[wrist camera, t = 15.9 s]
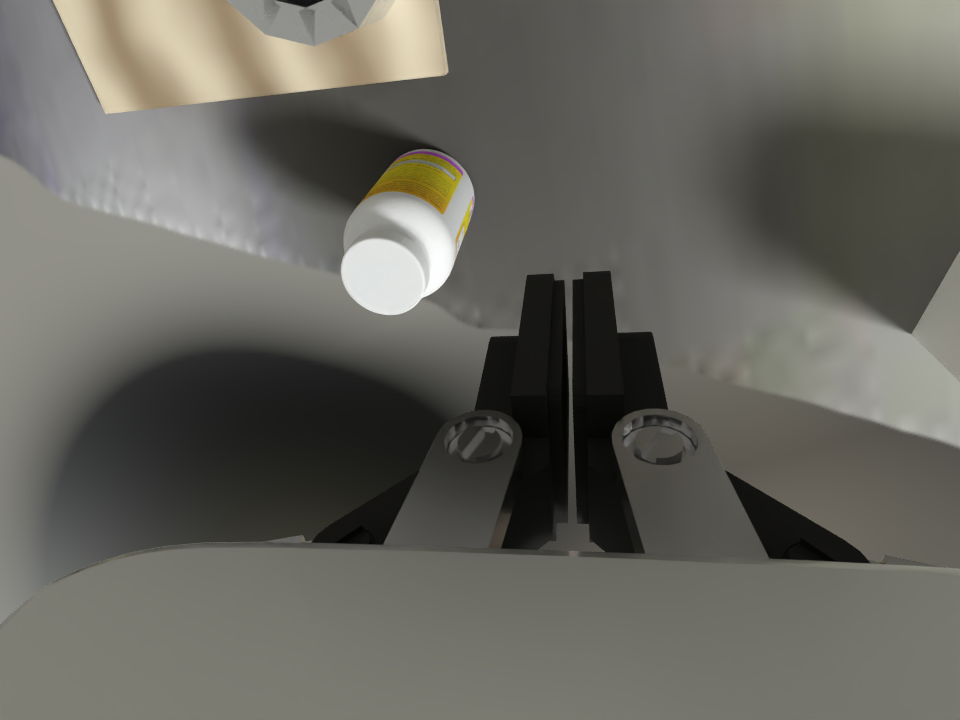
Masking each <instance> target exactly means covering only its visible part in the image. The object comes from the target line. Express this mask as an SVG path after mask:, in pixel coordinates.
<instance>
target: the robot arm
mask: <svg viewBox="0 0 960 720" xmlns="http://www.w3.org/2000/svg"><path fill="white" fill-rule="evenodd" d="M572 379H573V380H572V383H573V422H574V449H575V475H576V501H577V523H579V524H589V533H590V542H594V543H595V544H597V545H598V546H599V547H600V548H601V549H603V550H604V551H605V552H583V551H555V550H538V549H539V548H540V547H542V546H543V545H544V544H546V543H547V542H548V541H556V531H557V530H556V529H557V523H568V455H569V379H568V355H567V330H566V307H565V284H564V280H557V281H554V274H538V275H527V279H526V286H525V293H524V300H523V308H522V315H521V322H520V329H519V336H500V337H491V338H490V341H489V345H488V350H487V355H486V359H485V365H484V369H483V374H482V378H481V384H480V388H479V392H478V397H477V402H476V406H475V411H471V412H466V413H463V414H461V415H459V416H457V417H454V418H453V419H451V420H450V421H449V422H448V423H446V424H445V425H444V426H443V427H442V428H441V430H440V431H439V433H438V434H437V436H436V438H435V440H434V442H433V444H432V446H431V448H430V450H429V452H428V455H427V457H426V459H425V461H424V462H423V465H422V467H421V469H420V470H419V471H417V472H415V473H414V474H412V475H410V476H409V477H407V478H406V479H404V480H402V481H401V482H399V483H397V484H396V485H394V486H393V487H391V488H389V489H388V490H386V491H385V492H383V493H381V494H379V495H378V496H376V497H375V498H373V499H371V500H370V501H368V502H366V503H365V504H363V505H362V506H360V507H358V508H357V509H355V510H353V511H352V512H350V513H349V514H347V515H345V516H344V517H342V518H340V519H339V520H337V521H335V522H334V523H332V524H331V525H329V526H328V527H327V528H325V529H324V530H323V531H321V532H320V533H319V534H318V535H317V536H316V537H315V539H314V540H313V541H308V542H306V541H305V539H304V537H303V536H296V537H290V538H284V539H278V540H272V541H266V542H225V543H224V542H223V543H221V542H220V543H195V544H184V545H173V546H164V547H159V548H154V549H148V550H142V551H137V552H131V553H128V554H124V555H121V556H118V557H115V558H111V559H108V560H104V561H101V562H97V563H94V564H92V565H90V566H87V567H84V568H82V569H79V570H77V571H75V572H72V573H70V574H68V575H66V576H63V577H61V578H59V579H57V580H55V581H54V582H52V583H51V584H49V585H47V586H46V587H44V588H42V589H41V590H39V591H38V592H37V593H35V594H34V595H33V596H32V597H30V598H29V599H28V600H26V601H25V602H24V603H23V604H22V605H20V606H19V607H18V608H17V609H16V610H15V611H14V612H13V613H12V614H10V615H9V616H8V617H7V618H6V619H5V620H4V621H3V622H2V623H1V624H0V720H960V569H953V568H945V567H940V566H935V565H930V564H926V563H921V562H916V561H911V560H906V559H901V558H897V557H892V556H887V555H884V557H883V559H882V561H881V562H876V561H871V560H867V559H866V557H865V556H864V555H863V554H862V553H861V552H860V551H859V550H857V549H856V548H855V547H853V546H852V545H850V544H849V543H848V542H846V541H845V540H843V539H842V538H840V537H838V536H837V535H835V534H833V533H831V532H830V531H828V530H826V529H824V528H823V527H821V526H819V525H818V524H816V523H814V522H813V521H811V520H809V519H808V518H806V517H804V516H802V515H801V514H799V513H797V512H796V511H794V510H792V509H790V508H789V507H787V506H785V505H784V504H782V503H780V502H778V501H777V500H775V499H773V498H772V497H770V496H768V495H766V494H765V493H763V492H762V491H760V490H758V489H756V488H755V487H753V486H751V485H750V484H748V483H746V482H744V481H743V480H741V479H739V478H738V477H736V476H734V475H733V474H731V473H729V472H727V471H725V470H724V468H723V466H722V464H721V462H720V460H719V458H718V456H717V454H716V452H715V450H714V448H713V446H712V444H711V442H710V440H709V438H708V436H707V434H706V433H705V431H704V430H703V429H702V427H701V426H700V425H699V424H698V423H697V422H695V421H694V420H692V419H691V418H689V417H688V416H685V415H683V414H681V413H678V412H676V411H671V410H668V407H667V402H666V397H665V392H664V388H663V382H662V377H661V373H660V368H659V363H658V358H657V353H656V348H655V343H654V338H653V335H652V332H631V333H617V326H616V317H615V308H614V300H613V291H612V282H611V273H610V271H599V272H583V279H578V280H573V378H572Z"/></svg>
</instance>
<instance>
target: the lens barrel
mask: <svg viewBox="0 0 960 720" xmlns="http://www.w3.org/2000/svg"><path fill="white" fill-rule="evenodd" d="M227 1H228V2H229V3H230V4H231V5H232V6H233V7H235V8H236V9H237V10H238V11H239V12H240V13H241V14H242V15H244V16H245V17H246V18H247V19H248V20H249V21H250V22H252V23H253V24H254V25H255V26H256V27H257V28H258V29H259V30H261V31H262V32H263V33H264V34H265V35H269V36H273V37H277V38H281V39H286V40H290V41H294V42H298V43H302V44H306V45H311V46H317V45H319V44H322V43H325V42H327V41H330V40H332V39H335V38H338V37H340V36H343V35H345V34H347V33H350V32H352V31H355V30H357V29H360V28H362V27H364V26H367V25H369V24H372V23H374V22H377V21H379V20H382V19H384V17H385V16H386V14H387V13H388V11H389V10H390V8H391V7H392V5H393V4H394V2H395V1H396V0H227Z"/></svg>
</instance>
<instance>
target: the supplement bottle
mask: <svg viewBox="0 0 960 720" xmlns="http://www.w3.org/2000/svg"><path fill="white" fill-rule="evenodd" d="M473 208H474V190H473V186H472V183H471V180H470V178H469V176H468V174H467V173H466V171H465V170H464V169H463V167H462V166H461V165H460V164H459V163H458V162H457V161H456V160H454V159H453V158H452V157H450V156H448V155H446V154H444V153H442V152H439V151H436V150H430V149H418V150H413V151H410V152H407V153H405V154H403V155H402V156H400V157H399V158H397V159H396V160H395V161H394V162H393V163H392V164H391V165H390V166H389V168H388V169H387V170H386V171H385V173H384V174H383V175H382V176H381V178H380V179H379V180H378V181H377V183H376V184H375V185H374V186H373V188H372V189H371V190H370V191H369V193H368V194H367V195H366V196H365V198H364V199H363V200H362V201H361V203H360V204H359V205H358V206H357V207H356V209H355V210H354V211H353V213H352V214H351V216H350V217H349V219H348V222H347V224H346V227H345V231H344V251H345V254H344V256H343V259H342V263H341V277H342V280H343V283H344V286H345V288H346V290H347V292H348V293H349V294H350V296H352V298H353V299H354V300H355V301H356V302H357V303H359V304H360V305H361V306H363V307H364V308H366V309H368V310H370V311H372V312H375V313H379V314H384V315H396V314H401V313H404V312H406V311H408V310H410V309H412V308H413V307H414V306H415V305H416V304H417V303H418V302H419V301H420V299H421V298H423V297H425V296H428V295H430V294H431V293H433V292H435V291H436V290H437V289H438V288H439V287H441V286H442V284H443V283H444V282H445V281H446V279H447V278H448V276H449V274H450V272H451V270H452V267H453V265H454V262H455V259H456V256H457V254H458V251H459V248H460V245H461V243H462V240H463V238H464V235H465V232H466V230H467V227H468V224H469V221H470V219H471V216H472V212H473Z"/></svg>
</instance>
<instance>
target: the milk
mask: <svg viewBox="0 0 960 720" xmlns="http://www.w3.org/2000/svg"><path fill="white" fill-rule="evenodd" d="M911 335H912V336H913V337H914V338H915V339H916V340H917V341H919V342H920V343H921V344H922V345H923V346H924V347H925V348H926V349H927V350H928V351H929V352H930V353H931V354H932V355H933V356H934V357H935V358H936V359H937V360H938V361H939V362H940V363H941V364H942V365H943V366H944V367H945V368H946V369H947V370H948V371H949V372H950V373H951V374H952V375H954V376H955V377H956V378H957V379H958V380H959V381H960V251H959V253H958V255H957V257H956V258H955V260H954V262H953V263H952V265H951V267H950V269H949V270H948V272H947V274H946V275H945V277H944V279H943V281H942V282H941V284H940V286H939V288H938V289H937V291H936V293H935V294H934V296H933V298H932V300H931V301H930V303H929V305H928V306H927V308H926V310H925V312H924V313H923V315H922V317H921V318H920V320H919V322H918V324H917V325H916V327H915V329H914V330H913V332H912V334H911Z"/></svg>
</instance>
